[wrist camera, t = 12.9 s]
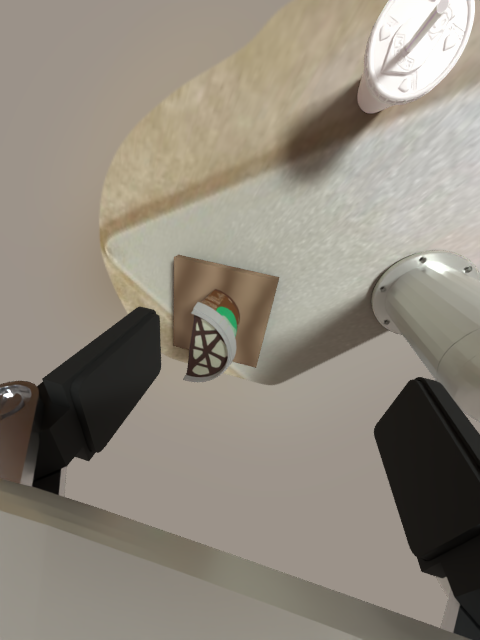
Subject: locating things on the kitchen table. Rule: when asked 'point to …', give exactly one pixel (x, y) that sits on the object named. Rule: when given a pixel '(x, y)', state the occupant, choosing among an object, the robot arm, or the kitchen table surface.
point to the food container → (212, 337)
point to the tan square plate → (241, 285)
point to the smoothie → (412, 50)
